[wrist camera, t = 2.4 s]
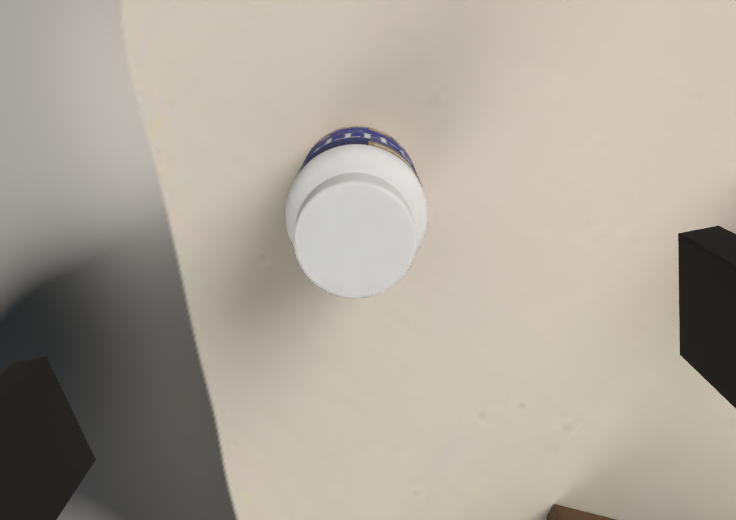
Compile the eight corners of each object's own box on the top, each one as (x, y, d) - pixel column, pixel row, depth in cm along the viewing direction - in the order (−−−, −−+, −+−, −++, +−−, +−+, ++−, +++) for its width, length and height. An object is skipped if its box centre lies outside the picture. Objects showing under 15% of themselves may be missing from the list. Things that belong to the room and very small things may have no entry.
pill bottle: (421, 129, 25) (451, 169, 17) (407, 239, 27) (428, 323, 19) (303, 118, 25) (275, 153, 17) (298, 229, 27) (270, 311, 18)
